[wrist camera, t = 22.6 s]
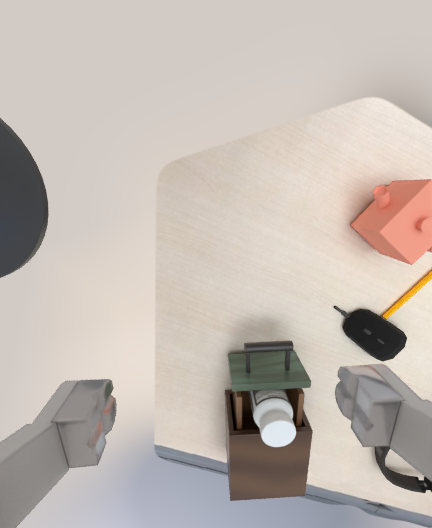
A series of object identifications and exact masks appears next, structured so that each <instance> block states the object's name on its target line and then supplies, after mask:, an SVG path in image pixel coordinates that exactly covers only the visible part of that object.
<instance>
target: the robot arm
mask: <svg viewBox="0 0 432 528" xmlns="http://www.w3.org/2000/svg"><path fill="white" fill-rule="evenodd" d="M338 377H339V379H340V380H341V381H340V382H339V383H338V384H337V385H336V390H335V396H336V401H337V404H338V407H339V409H340V411H341V412H342V414H343V415H344V416H345V417H347V418H348V419H350V420H351V428H352V430H353V432H354V433H355V435H356V436H357V438H358V440H359V441H360V443H361V444H362V446H363V447H377V446H390V448H391V449H392V450H393V451H394V452H396V453H397V454H398V455H399V456H401V457H402V458H403V459H404V460H405V461H407V462H408V463H409V464H410V465H412V466H413V467H414V468H415V469H417V470H418V471H419V472H420V473H422V474H423V475H424V476H425V477H426V478H428V479H429V480H430V481H431V482H432V402H430V401H428V400H422V399H421V398H420V397H419V396H417V395H416V394H415V393H414V392H413V391H412V390H411V389H410V388H409V387H408V386H407V385H406V384H405V383H404V382H403V381H402V380H401V379H400V378H399V377H398V376H397V375H396V374H394V373H393V372H392V371H391V370H390V369H389V368H388V367H387V366H386V365H384V364H371V365H360V366H344V367H340V368H339V370H338ZM112 390H113V384H112V381H111V380H109V379H104V380H103V379H102V380H80V381H65V382H63V383H62V384H61V385H60V387H59V388H58V389H57V390H56V392H55V393H54V394H53V396H52V397H51V399H50V400H49V401H48V403H47V404H46V405H45V407H44V408H43V409H42V411H41V412H40V414H39V415H38V416H37V418H36V419H35V420H34V422H33V423H32V424H27V425H25V426H23V427H22V428H21V429H19V430H18V431H16V432H15V433H13V434H12V435H10V436H9V437H8V438H6V439H5V440H3V441H2V442H0V528H16V527H17V526H18V525H19V524H20V522H22V521H23V519H24V518H25V517H26V516H27V515H28V514H29V513H30V512H31V511H32V510H33V509H34V508H35V506H36V505H37V504H38V503H39V502H40V501H41V500H42V499H43V498H44V497H45V495H46V494H47V493H48V492H49V491H50V490H51V489H52V488H53V487H54V486H55V485H56V484H57V482H58V481H59V480H60V479H61V478H62V477H63V476H64V475H65V474H66V473H67V472H68V470H69V468H75V467H86V466H95V465H98V463H99V461H100V458H101V455H102V453H103V450H104V448H105V445H106V439H105V435H106V434H107V433H108V432H109V431H111V430H112V427H113V424H114V421H115V416H116V400H115V398H114V397H113V396H112V395H111V393H112Z"/></svg>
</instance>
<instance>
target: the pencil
mask: <svg viewBox="0 0 432 528" xmlns="http://www.w3.org/2000/svg"><path fill="white" fill-rule="evenodd" d="M431 279H432V271H431V272H430V273H429V274H428V275H427V276H425V277H424V278H423V279H422V280H421V281H420V282H419V283H418V284H417V285H416V286H414V287H413V288H412V289H411V290H410V291H409V292H408V293H407V294H406V295H404V296H403V297H402V298H401V299H400V300H399V301H398V302H397V303H396V304H395V305H393V306H392V307H391V308H390V309H389V310H388V311H387V312H386V313H385V314H384V315H382V317H383V318H385V319H387V318H388V317H390V316H391V315H392V314H393V313H394V312H395V311H396V310H397V309H398V308H400V307H401V306H402V305H403V304H404V303H405V302H406V301H407V300H408V299H410V298H411V297H412V296H413V295H414V294H415V293H416V292H417V291H418V290H420V289H421V288H422V287H423V286H424V285H425V284H426V283H427V282H429V281H430V280H431Z"/></svg>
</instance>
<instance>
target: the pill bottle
mask: <svg viewBox="0 0 432 528" xmlns="http://www.w3.org/2000/svg"><path fill="white" fill-rule="evenodd" d="M248 393H249V398H250V403H251V409H252V413H253V418H254V421H255V423H256V424H257V426H258V427H259V428H260V434H261V437H262V440H263V441H264V443H266V444H267V445H269V446H272V447H282V446H286V445H288V444H289V443H291V442H292V441H293V439H294V438H295V436H296V428H295V425H294V423H293V420H292V418H293V409H292V406H291V404H290V401H289V399H288V396H287V394H286V391H285V389H272V390H253V391H248Z"/></svg>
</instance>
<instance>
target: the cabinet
mask: <svg viewBox="0 0 432 528" xmlns="http://www.w3.org/2000/svg"><path fill="white" fill-rule="evenodd" d="M225 414H226V451H227V464H228V477H229V490H230V500H231V501H233V500H249V499H263V498H264V499H265V498H280V497H296V496H305V490H306V482H307V473H308V465H309V456H310V448H311V439H312V429H311V427H310V424H309V422H308V419H307V417H306V415H305V413H304V410H303V413H302V423H301V427H295V428H296V436H295V438H294V439H293V441H292V442H291V443H289V444H288V445H286V446H282V447H272V446H269V445H267V444H266V443H264V441H263V440H262V437H261V434H260V429H257V430H240V431H235V430H234V421H233V392H232V390H225Z"/></svg>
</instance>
